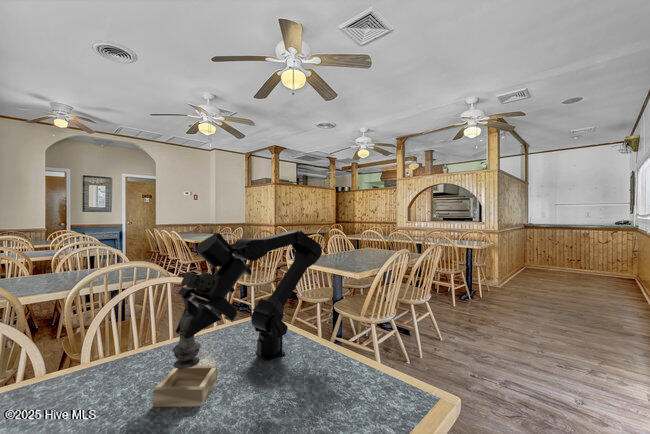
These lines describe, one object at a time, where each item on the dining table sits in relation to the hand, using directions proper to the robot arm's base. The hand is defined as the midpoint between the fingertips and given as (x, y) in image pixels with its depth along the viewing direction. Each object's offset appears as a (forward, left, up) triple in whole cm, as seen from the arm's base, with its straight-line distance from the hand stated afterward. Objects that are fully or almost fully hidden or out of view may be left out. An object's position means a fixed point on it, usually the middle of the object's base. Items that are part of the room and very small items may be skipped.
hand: (181, 335), depth 65 cm
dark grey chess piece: (-1, 0, -7) cm, 7 cm away
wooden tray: (-2, 0, -13) cm, 13 cm away
